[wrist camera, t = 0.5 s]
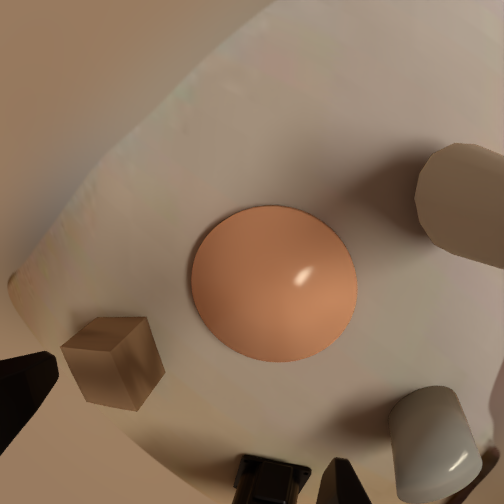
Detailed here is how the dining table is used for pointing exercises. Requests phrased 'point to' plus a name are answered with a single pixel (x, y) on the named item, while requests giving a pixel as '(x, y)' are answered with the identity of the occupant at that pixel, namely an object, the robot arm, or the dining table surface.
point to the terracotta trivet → (274, 283)
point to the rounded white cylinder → (432, 446)
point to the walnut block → (115, 361)
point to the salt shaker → (464, 202)
